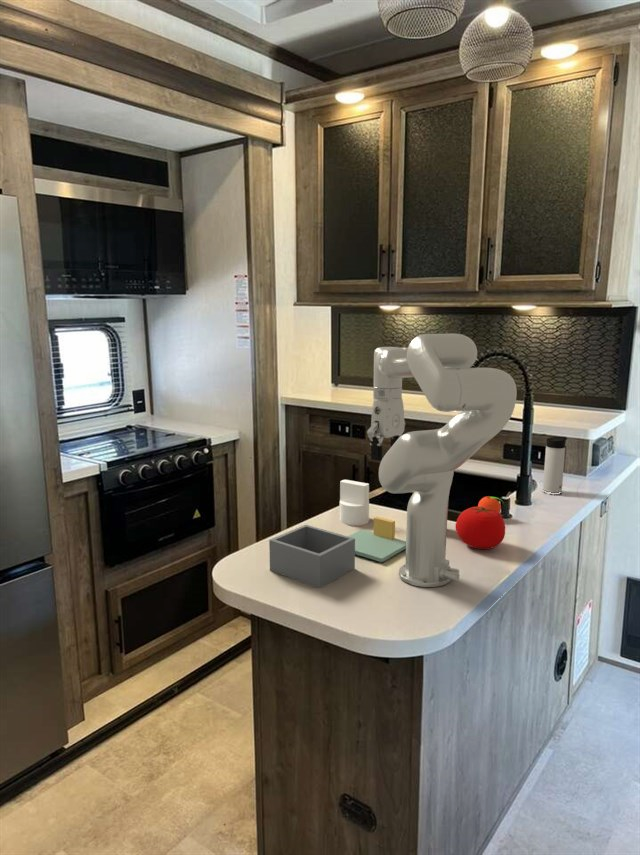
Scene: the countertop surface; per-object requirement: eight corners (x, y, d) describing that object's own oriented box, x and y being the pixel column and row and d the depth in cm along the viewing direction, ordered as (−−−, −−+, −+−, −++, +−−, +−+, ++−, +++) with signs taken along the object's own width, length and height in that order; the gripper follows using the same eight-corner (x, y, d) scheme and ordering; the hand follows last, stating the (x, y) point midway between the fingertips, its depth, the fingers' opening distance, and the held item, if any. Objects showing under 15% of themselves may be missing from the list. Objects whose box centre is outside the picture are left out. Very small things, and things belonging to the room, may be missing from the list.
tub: (354, 568, 155) (355, 538, 154) (319, 588, 145) (319, 556, 143) (305, 553, 165) (305, 524, 164) (269, 570, 155) (269, 539, 153)
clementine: (502, 515, 195) (503, 493, 194) (505, 522, 188) (506, 500, 187) (476, 513, 196) (477, 492, 195) (478, 521, 190) (479, 499, 188)
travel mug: (565, 495, 215) (569, 439, 211) (546, 495, 215) (550, 439, 212) (558, 490, 221) (563, 435, 218) (540, 490, 222) (544, 435, 218)
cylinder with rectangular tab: (333, 521, 189) (334, 483, 187) (349, 513, 197) (349, 477, 194) (359, 527, 184) (359, 488, 182) (374, 518, 192) (374, 481, 189)
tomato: (497, 558, 162) (499, 518, 160) (449, 547, 169) (451, 509, 167) (510, 543, 172) (512, 505, 170) (464, 534, 179) (466, 497, 177)
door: (410, 549, 169) (410, 524, 167) (381, 565, 158) (382, 540, 157) (361, 535, 179) (362, 512, 177) (332, 550, 168) (332, 526, 167)
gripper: (381, 398, 156) (380, 464, 159) (416, 391, 169) (414, 452, 172) (357, 396, 160) (356, 460, 163) (392, 389, 173) (391, 449, 177)
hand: (386, 456), depth 168 cm, fingers open, 9 cm apart
